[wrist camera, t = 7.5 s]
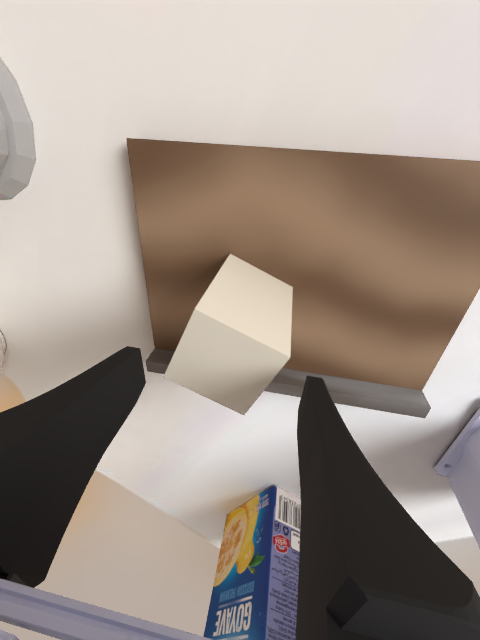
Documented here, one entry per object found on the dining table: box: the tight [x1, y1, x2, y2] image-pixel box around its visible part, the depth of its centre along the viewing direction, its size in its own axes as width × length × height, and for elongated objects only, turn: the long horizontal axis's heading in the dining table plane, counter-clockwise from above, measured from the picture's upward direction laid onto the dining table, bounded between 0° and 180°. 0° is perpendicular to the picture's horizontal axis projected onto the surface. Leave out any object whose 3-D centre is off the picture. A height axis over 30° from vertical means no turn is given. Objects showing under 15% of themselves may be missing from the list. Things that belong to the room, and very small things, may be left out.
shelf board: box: [127, 138, 480, 418], centre depth 17 cm, size 15×20×3 cm
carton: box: [164, 254, 293, 415], centre depth 16 cm, size 5×4×7 cm
